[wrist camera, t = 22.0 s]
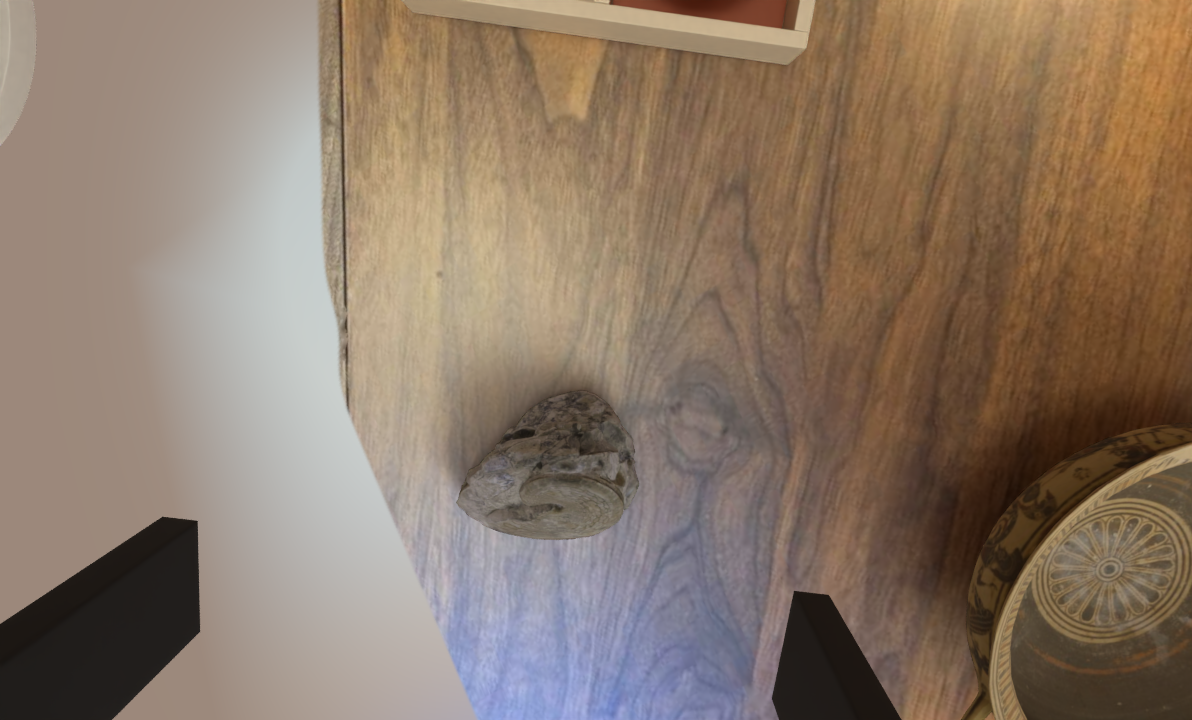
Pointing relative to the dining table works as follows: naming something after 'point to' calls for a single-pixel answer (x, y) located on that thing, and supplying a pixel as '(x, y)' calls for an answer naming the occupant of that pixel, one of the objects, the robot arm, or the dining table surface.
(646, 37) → the divided tray
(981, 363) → the dining table surface
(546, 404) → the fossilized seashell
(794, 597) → the robot arm
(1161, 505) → the ceramic bowl
